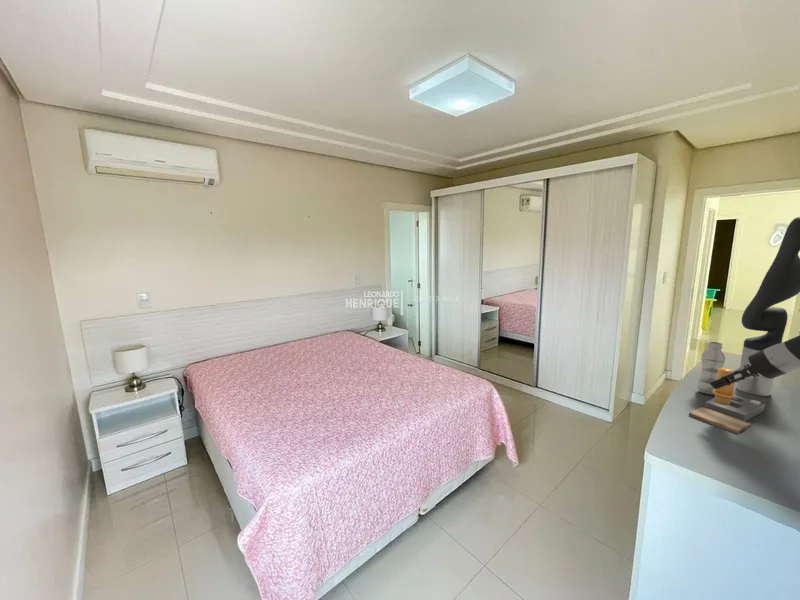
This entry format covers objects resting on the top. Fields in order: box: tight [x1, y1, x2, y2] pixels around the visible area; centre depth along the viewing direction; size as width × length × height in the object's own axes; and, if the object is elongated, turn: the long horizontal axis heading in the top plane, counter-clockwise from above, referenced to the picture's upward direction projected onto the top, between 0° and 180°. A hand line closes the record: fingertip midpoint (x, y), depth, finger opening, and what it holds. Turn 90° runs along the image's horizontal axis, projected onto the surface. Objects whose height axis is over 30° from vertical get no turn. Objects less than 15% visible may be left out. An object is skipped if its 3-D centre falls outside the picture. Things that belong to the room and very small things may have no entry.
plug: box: [713, 367, 736, 406], centre depth 104 cm, size 5×5×11 cm
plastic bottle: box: [696, 341, 726, 396], centre depth 124 cm, size 6×7×20 cm
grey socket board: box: [703, 394, 766, 422], centre depth 113 cm, size 16×10×3 cm, turn 117°
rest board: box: [688, 406, 751, 434], centre depth 106 cm, size 9×12×1 cm
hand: (716, 384), depth 106 cm, fingers closed on plug, 4 cm apart
